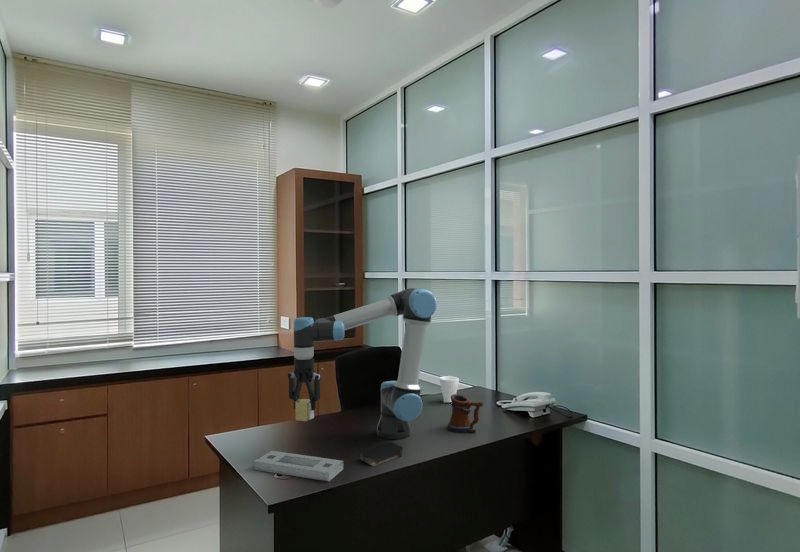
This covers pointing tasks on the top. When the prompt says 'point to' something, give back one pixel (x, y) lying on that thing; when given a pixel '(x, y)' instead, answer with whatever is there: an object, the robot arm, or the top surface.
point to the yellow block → (302, 410)
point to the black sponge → (381, 453)
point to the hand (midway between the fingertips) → (304, 417)
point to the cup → (448, 387)
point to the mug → (462, 414)
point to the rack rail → (299, 465)
